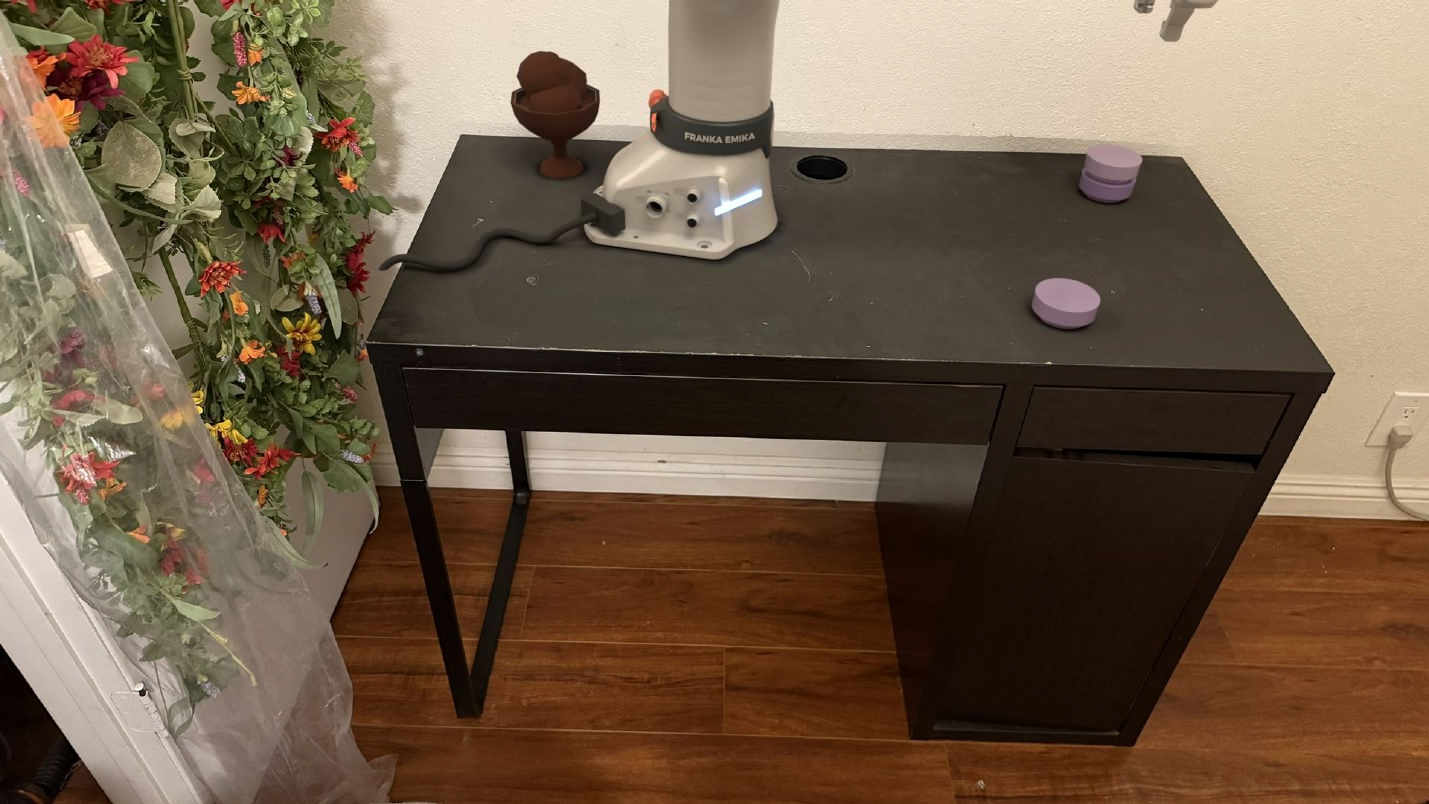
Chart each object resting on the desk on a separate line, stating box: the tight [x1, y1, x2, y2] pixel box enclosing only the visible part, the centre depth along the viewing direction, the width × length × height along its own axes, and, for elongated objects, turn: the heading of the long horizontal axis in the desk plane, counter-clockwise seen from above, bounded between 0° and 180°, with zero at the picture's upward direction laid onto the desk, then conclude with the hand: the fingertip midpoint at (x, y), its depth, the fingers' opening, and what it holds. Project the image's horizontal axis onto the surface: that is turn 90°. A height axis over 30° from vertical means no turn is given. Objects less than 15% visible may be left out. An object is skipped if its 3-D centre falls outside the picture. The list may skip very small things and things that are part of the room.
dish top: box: [1083, 144, 1143, 184], centre depth 121 cm, size 6×6×3 cm
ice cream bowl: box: [510, 50, 601, 179], centre depth 121 cm, size 11×11×15 cm
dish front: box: [1031, 277, 1101, 330], centre depth 101 cm, size 6×6×3 cm
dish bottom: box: [1078, 167, 1137, 204], centre depth 123 cm, size 6×6×3 cm
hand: (1154, 25), depth 110 cm, fingers open, 8 cm apart
